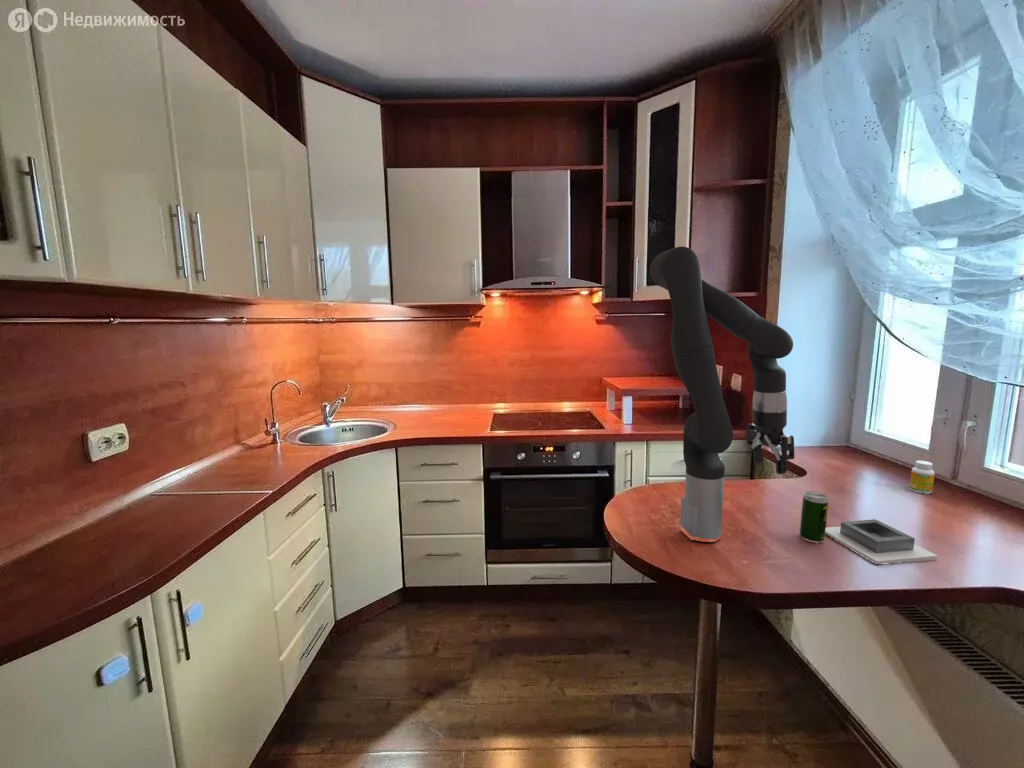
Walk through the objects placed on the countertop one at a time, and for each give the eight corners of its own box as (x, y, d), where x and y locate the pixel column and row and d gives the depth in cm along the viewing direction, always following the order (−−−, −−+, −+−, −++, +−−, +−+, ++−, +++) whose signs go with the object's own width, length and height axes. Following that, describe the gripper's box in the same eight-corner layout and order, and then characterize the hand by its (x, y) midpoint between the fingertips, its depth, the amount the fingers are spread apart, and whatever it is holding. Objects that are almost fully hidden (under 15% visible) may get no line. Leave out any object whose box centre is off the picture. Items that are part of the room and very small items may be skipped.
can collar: (876, 553, 103) (877, 541, 102) (840, 532, 112) (841, 522, 112) (913, 549, 104) (914, 538, 103) (874, 529, 114) (875, 519, 113)
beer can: (800, 540, 111) (804, 497, 109) (798, 531, 115) (802, 489, 114) (825, 546, 108) (830, 501, 106) (823, 536, 113) (827, 493, 111)
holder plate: (876, 565, 100) (876, 561, 99) (819, 531, 115) (820, 528, 115) (937, 559, 101) (937, 555, 101) (873, 527, 117) (873, 523, 117)
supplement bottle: (916, 493, 138) (919, 464, 136) (905, 487, 143) (908, 459, 141) (936, 495, 137) (940, 465, 135) (924, 488, 142) (928, 460, 140)
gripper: (738, 403, 116) (738, 460, 119) (776, 415, 102) (775, 479, 105) (763, 400, 117) (763, 457, 120) (804, 411, 103) (803, 475, 106)
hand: (769, 467), depth 112 cm, fingers open, 8 cm apart
